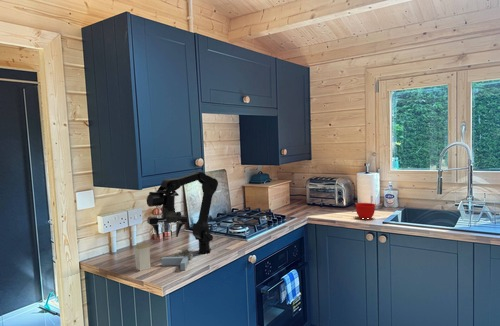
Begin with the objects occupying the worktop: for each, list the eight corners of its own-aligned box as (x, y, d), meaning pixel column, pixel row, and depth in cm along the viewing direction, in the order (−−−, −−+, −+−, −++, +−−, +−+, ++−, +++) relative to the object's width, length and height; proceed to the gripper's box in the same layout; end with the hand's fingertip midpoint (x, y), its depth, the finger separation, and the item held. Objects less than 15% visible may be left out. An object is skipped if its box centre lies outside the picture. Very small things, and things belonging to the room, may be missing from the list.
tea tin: (146, 265, 171) (144, 243, 170) (150, 268, 167) (149, 245, 166) (135, 268, 167) (134, 245, 166) (140, 271, 163) (138, 247, 162)
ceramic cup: (371, 215, 261) (371, 201, 260) (377, 220, 244) (377, 206, 243) (353, 215, 262) (353, 202, 261) (357, 220, 245) (357, 206, 245)
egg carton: (188, 256, 183) (188, 248, 183) (194, 260, 176) (194, 252, 176) (168, 260, 177) (168, 252, 177) (173, 264, 171) (173, 256, 171)
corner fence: (162, 264, 171) (162, 257, 171) (188, 263, 171) (188, 256, 171) (157, 271, 162) (157, 264, 162) (185, 270, 162) (184, 263, 162)
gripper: (152, 208, 161) (151, 242, 161) (192, 206, 170) (191, 239, 170) (147, 205, 171) (146, 237, 171) (185, 204, 180) (184, 234, 180)
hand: (167, 237), depth 173 cm, fingers open, 9 cm apart
